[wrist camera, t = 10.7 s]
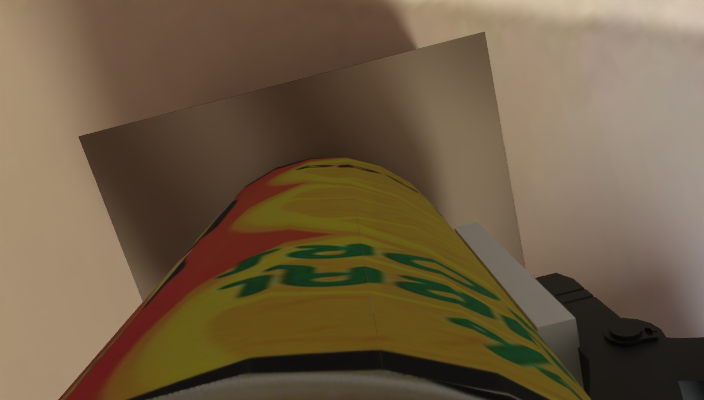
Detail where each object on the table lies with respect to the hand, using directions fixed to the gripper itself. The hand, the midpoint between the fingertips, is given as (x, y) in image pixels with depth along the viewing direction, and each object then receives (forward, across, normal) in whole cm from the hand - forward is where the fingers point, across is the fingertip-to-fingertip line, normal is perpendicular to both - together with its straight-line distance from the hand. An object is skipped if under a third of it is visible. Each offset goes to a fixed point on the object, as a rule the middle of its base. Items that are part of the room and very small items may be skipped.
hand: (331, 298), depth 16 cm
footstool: (+11, 0, 0) cm, 11 cm away
